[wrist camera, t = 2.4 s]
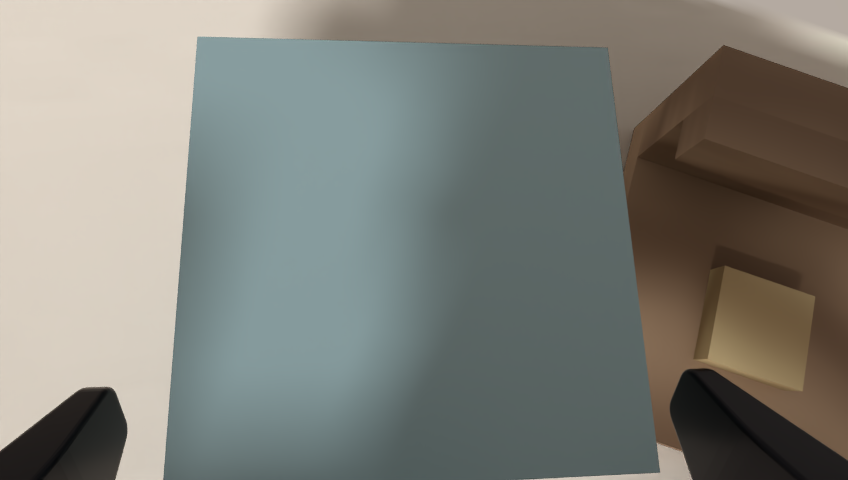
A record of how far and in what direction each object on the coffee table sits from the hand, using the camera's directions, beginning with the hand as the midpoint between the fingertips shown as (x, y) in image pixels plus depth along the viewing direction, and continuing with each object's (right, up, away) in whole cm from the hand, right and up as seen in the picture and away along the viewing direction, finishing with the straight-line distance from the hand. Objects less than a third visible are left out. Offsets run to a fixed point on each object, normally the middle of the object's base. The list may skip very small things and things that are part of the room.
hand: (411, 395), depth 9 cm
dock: (+11, 0, +11) cm, 16 cm away
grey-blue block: (-1, 0, +10) cm, 10 cm away
